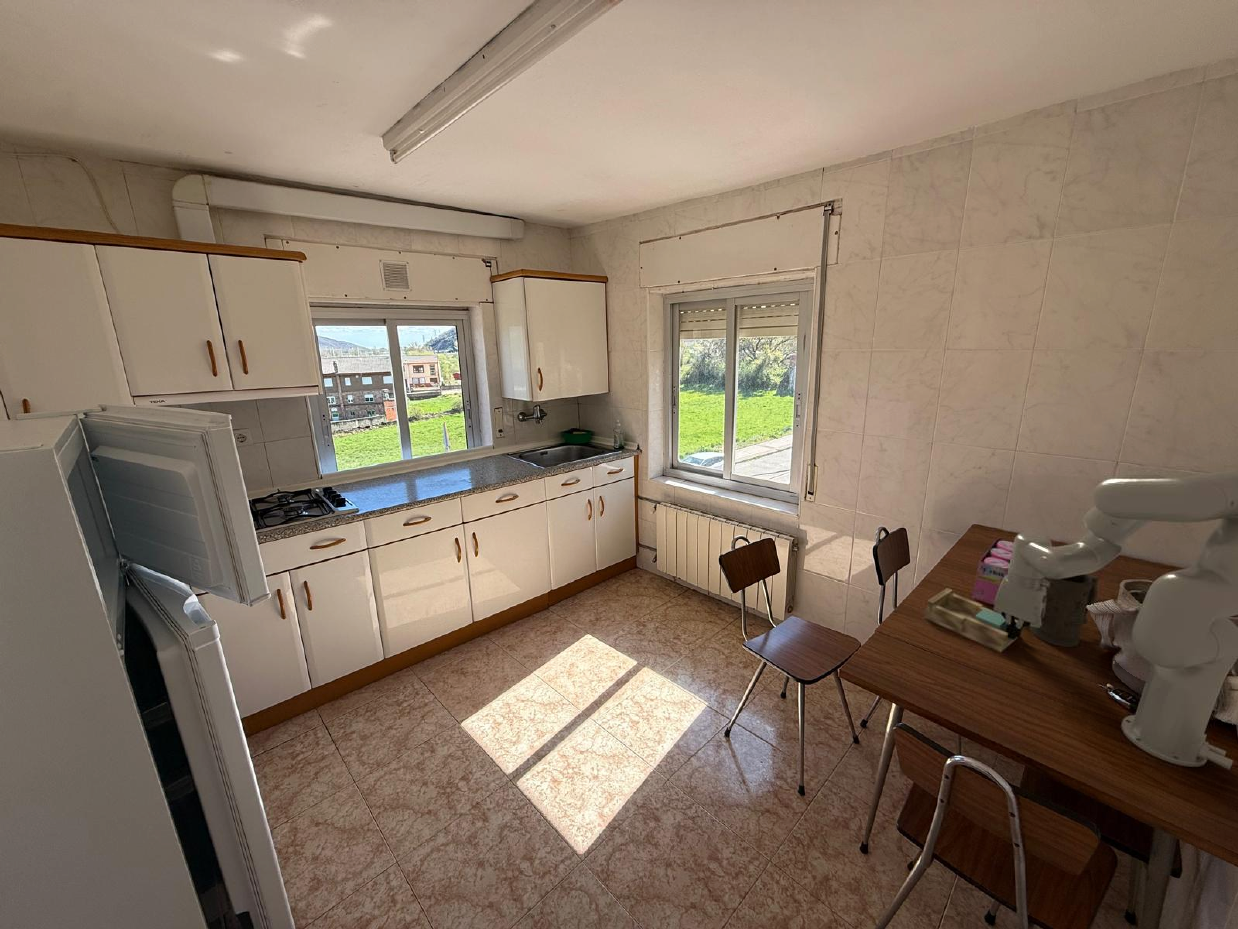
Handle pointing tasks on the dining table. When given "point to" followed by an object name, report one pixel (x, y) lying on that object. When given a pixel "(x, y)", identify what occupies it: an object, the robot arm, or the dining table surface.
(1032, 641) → the dining table surface
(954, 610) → the chute
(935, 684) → the dining table surface
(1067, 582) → the beer stein
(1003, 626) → the block
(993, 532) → the dining table surface
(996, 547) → the gum box
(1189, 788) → the dining table surface
